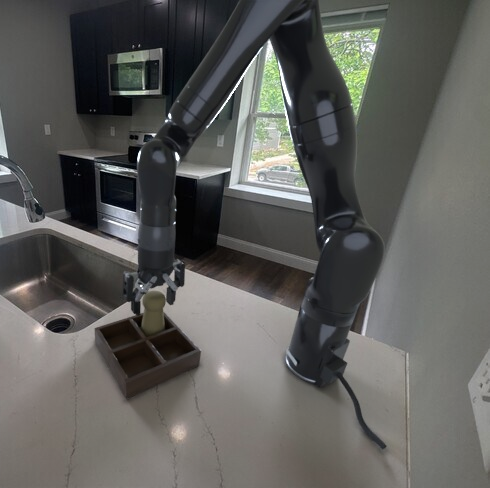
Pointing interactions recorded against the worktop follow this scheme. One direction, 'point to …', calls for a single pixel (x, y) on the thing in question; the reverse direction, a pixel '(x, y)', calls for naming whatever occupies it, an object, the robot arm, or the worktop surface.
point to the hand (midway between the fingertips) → (153, 308)
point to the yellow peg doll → (153, 313)
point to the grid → (145, 353)
